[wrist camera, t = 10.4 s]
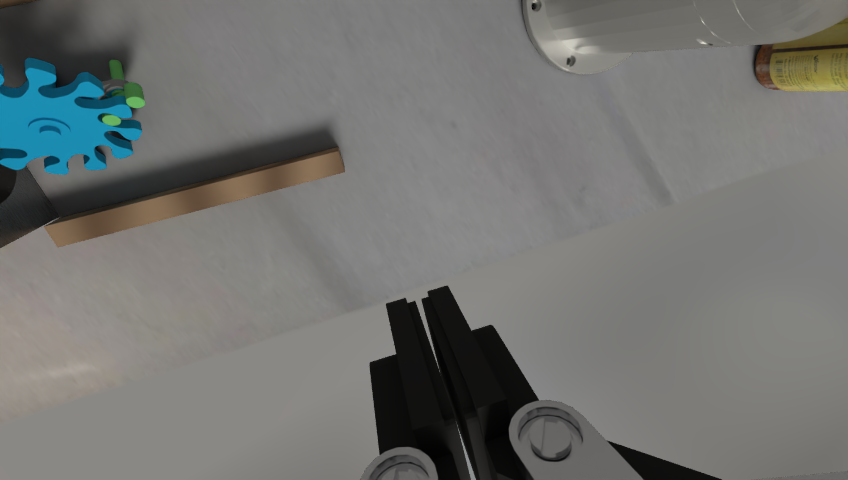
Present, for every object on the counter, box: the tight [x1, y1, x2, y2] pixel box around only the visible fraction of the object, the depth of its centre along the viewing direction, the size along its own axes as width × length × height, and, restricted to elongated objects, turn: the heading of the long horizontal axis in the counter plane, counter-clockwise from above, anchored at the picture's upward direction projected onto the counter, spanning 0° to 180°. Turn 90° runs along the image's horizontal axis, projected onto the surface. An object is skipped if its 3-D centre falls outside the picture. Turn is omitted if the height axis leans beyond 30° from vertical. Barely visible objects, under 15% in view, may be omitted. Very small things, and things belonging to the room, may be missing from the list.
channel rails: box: [0, 0, 345, 247], centre depth 29 cm, size 23×18×2 cm
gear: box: [0, 57, 145, 175], centre depth 27 cm, size 11×6×10 cm
